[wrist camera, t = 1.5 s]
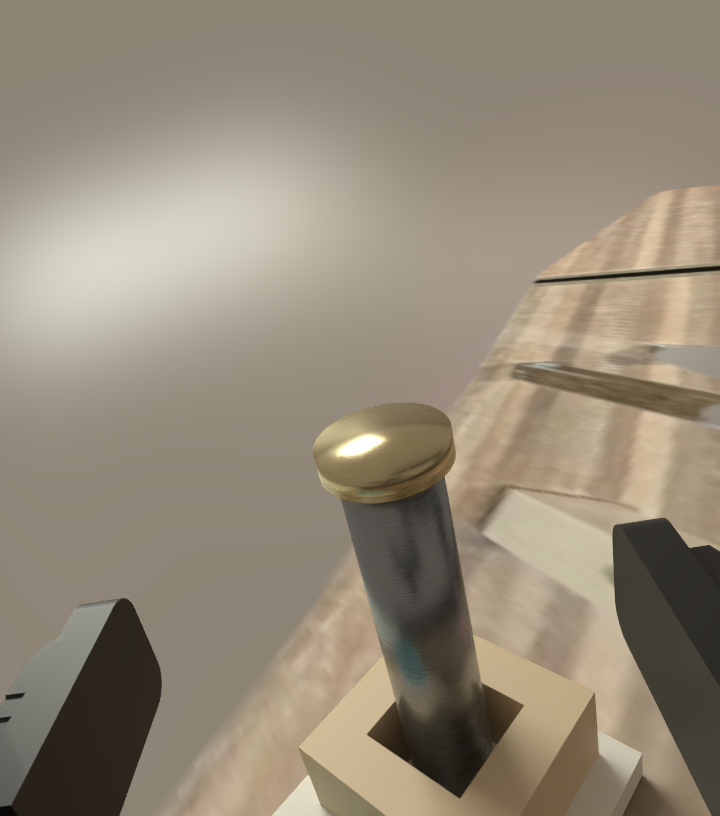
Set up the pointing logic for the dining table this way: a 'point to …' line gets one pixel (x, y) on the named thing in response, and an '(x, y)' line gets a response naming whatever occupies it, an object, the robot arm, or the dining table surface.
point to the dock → (501, 773)
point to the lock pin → (413, 578)
